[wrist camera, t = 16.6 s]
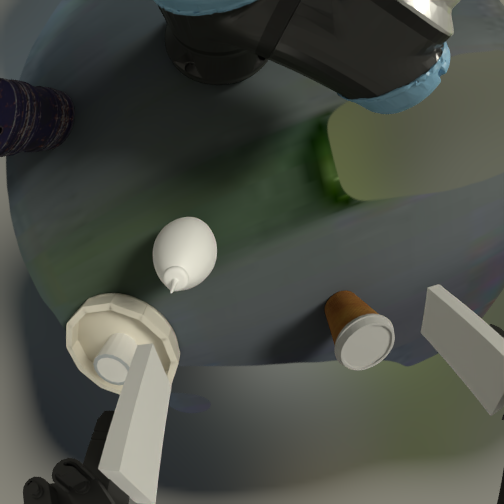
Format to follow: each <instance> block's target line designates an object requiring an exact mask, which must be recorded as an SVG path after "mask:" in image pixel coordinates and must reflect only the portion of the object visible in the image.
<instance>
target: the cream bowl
mask: <svg viewBox="0 0 504 504" xmlns="http://www.w3.org/2000/svg"><path fill="white" fill-rule="evenodd" d="M114 333H124V334H126V335H128V336H130V337H131V338H132V339H134V340H135V342H136V344H137V345H142V344H151V343H153V345H154V347H155V350H156V352H157V354H158V357H159V359H160V361H161V364H162V366H163V368H164V371H165V373H166V375H167V377H168V380H169V382H170V384H172V382H173V378H174V375H175V372H176V369H177V366H178V363H179V357H180V350H179V345H178V340H177V337H176V334H175V332H174V330H173V328H172V327H171V325H170V323H169V322H168V321H167V320H166V318H165V317H164V316H163V315H162V314H161V313H160V312H159V311H157V310H156V309H155V308H154V307H152V306H151V305H149V304H148V303H146V302H144V301H142V300H140V299H138V298H135V297H133V296H130V295H126V294H121V293H103V294H99V295H96V296H93V297H91V298H88V299H87V300H86V301H85V302H84V303H83V304H82V306H81V307H80V308H79V309H78V310H77V311H76V312H75V313H74V315H73V316H72V317H71V318H70V320H69V321H68V323H67V326H66V347H67V349H68V351H69V353H70V355H71V357H72V358H73V360H74V362H75V364H76V366H77V367H78V369H79V370H80V371H81V372H82V373H83V374H84V375H86V376H87V377H88V378H89V379H91V380H92V381H93V382H94V383H95V384H97V385H98V386H99V387H101V388H103V389H106V390H108V391H111V392H114V393H117V394H121V391H122V388H123V385H115V384H111V383H109V382H107V381H105V380H103V379H102V378H101V377H100V376H99V375H98V374H97V372H96V371H95V369H94V365H93V363H94V359H95V357H96V356H97V355H98V353H99V352H100V350H101V349H102V347H103V346H104V344H105V343H106V341H107V340H108V339H109V337H110V336H111V335H112V334H114Z"/></svg>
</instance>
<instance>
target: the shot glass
mask: <svg viewBox="0 0 504 504" xmlns="http://www.w3.org/2000/svg"><path fill="white" fill-rule="evenodd" d="M136 348H137V344H136V342H135V340H134V339H132V338H131V337H130V336H128V335H126V334H124V333H114V334H112V335H111V336H110V337H109V339H108V340H107V341H106V343H105V344H104V346H103V347H102V349H101V350H100V352H99V353H98V355H97V356H96V357H95V359H94V363H93V365H94V369H95V371H96V372H97V374H98V375H99V376H100V377H101V378H102V379H103V380H105V381H107V382H109V383H111V384H115V385H124V382H125V379H126V376H127V373H128V370H129V367H130V365H131V362H132V359H133V356H134V353H135V351H136Z"/></svg>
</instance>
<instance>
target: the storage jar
mask: <svg viewBox="0 0 504 504" xmlns="http://www.w3.org/2000/svg"><path fill="white" fill-rule="evenodd" d="M74 115H75V113H74V106H73V103H72V100H71V99H70V97H69V96H68V95H67V94H66V93H64V92H62V91H58V90H55V89H53V88H49V87H41V86H36V87H34V86H32V85H30V84H29V83H26V82H22V81H18V80H8V79H3V78H0V157H3V156H10V155H14V154H17V153H19V152H21V151H24V152H39V151H44V150H51V149H54V148H56V147H58V146H59V145H60V144H62V143H63V142H64V141H65V139H66V138H67V137H68V135H69V133H70V131H71V129H72V126H73V122H74Z"/></svg>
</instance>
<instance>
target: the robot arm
mask: <svg viewBox="0 0 504 504" xmlns="http://www.w3.org/2000/svg"><path fill="white" fill-rule="evenodd" d="M154 1H155V2H156V4H157V5H158V7H159V9H160V10H161V12H162V14H163V16H164V18H165V20H166V21H167V23H168V24H167V27H166V32H165V45H166V50H167V53H168V55H169V57H170V59H171V60H172V62H173V63H174V65H175V66H176V67H177V68H178V69H179V70H180V71H181V72H182V73H183V74H184V75H186V76H187V77H189V78H191V79H193V80H195V81H198V82H201V83H206V84H212V85H225V84H231V83H236V82H239V81H242V80H244V79H247V78H249V77H250V76H252V75H254V74H255V73H256V72H258V71H259V70H260V69H261V68H262V67H263V66H264V65H265V64H266V63H267V61H268V60H271V61H273V62H275V63H278V64H280V65H282V66H285V67H287V68H289V69H291V70H293V71H296V72H298V73H300V74H302V75H304V76H306V77H308V78H310V79H312V80H314V81H316V82H318V83H320V84H322V85H324V86H326V87H328V88H330V89H331V90H333V91H335V92H337V94H338V95H339V96H340V97H342V98H343V99H345V100H348V101H351V102H355V103H357V104H359V105H361V106H362V107H364V108H366V109H368V110H370V111H372V112H375V113H380V114H394V113H399V112H402V111H404V110H407V109H409V108H411V107H413V106H415V105H416V104H418V103H420V102H421V101H422V100H424V99H425V98H426V97H427V96H429V94H431V93H432V92H433V91H434V90H435V88H436V87H437V86H438V85H439V83H440V82H441V79H440V76H441V75H443V74H445V73H446V72H447V70H448V67H449V64H450V51H449V48H448V46H447V43H446V41H447V40H448V39H449V38H450V37H451V36H452V35H453V34H454V30H453V23H452V17H451V12H452V8H453V7H454V6H455V5H456V4H457V3H458V2H459V1H460V0H154ZM421 333H422V335H423V336H424V337H425V338H426V339H427V340H428V341H429V342H430V343H431V345H432V346H433V347H434V348H435V349H436V350H437V351H438V353H439V354H440V355H441V356H442V357H443V358H444V359H445V361H446V362H447V363H448V364H449V365H450V366H451V368H452V369H453V370H454V371H455V372H456V374H457V375H458V376H459V377H460V378H461V380H463V382H464V383H465V384H466V386H467V387H468V388H469V389H470V390H471V392H472V393H473V394H474V395H475V397H476V398H477V399H478V400H479V401H480V403H481V404H482V405H483V407H484V408H485V409H486V411H487V412H488V413H489V414H490V416H491V415H493V414H494V413H496V412H497V411H499V410H500V409H502V408H503V406H504V331H503V330H502V329H500V328H499V327H497V326H495V325H492V324H490V325H488V324H487V323H486V322H485V321H483V320H482V319H481V318H480V317H479V316H478V315H476V314H475V313H474V312H473V311H472V310H470V309H469V308H468V307H467V306H466V305H464V304H463V303H462V302H461V301H459V300H458V299H457V298H456V297H454V296H453V295H452V294H451V293H449V292H448V291H447V290H446V289H444V288H443V287H442V286H441V285H439V284H438V285H435V286H432V287H428V288H427V296H426V304H425V310H424V317H423V323H422V329H421ZM170 392H171V384H170V382H169V380H168V377H167V375H166V373H165V371H164V368H163V366H162V364H161V361H160V359H159V357H158V354H157V352H156V350H155V347H154V345H153V343H151V344H142V345H137V348H136V351H135V353H134V356H133V359H132V362H131V365H130V367H129V370H128V373H127V376H126V379H125V382H124V385H123V388H122V391H121V394H120V397H119V400H118V403H117V406H116V409H115V411H104V413H103V414H102V415H101V416H100V418H99V419H98V420H97V423H96V426H95V429H94V432H93V434H92V438H91V439H92V440H91V441H90V444H89V447H88V450H87V453H86V456H85V460H84V463H83V464H82V463H81V462H80V461H78V460H76V459H72V458H67V459H64V460H61V461H60V462H59V463H57V464H56V466H55V467H54V469H53V472H52V479H53V481H54V482H55V483H52V484H49V483H48V482H47V481H46V480H45V479H43V478H41V477H33V478H31V479H29V480H28V481H27V482H26V483H25V486H24V489H23V498H24V504H128V502H129V497H130V498H131V499H132V500H133V501H135V502H136V503H143V504H155V503H156V493H157V484H158V475H159V467H160V459H161V452H162V444H163V437H164V430H165V424H166V417H167V411H168V404H169V398H170ZM502 420H504V415H503V417H502ZM497 504H504V470H503V477H502V483H501V488H500V493H499V497H498V502H497Z"/></svg>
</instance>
